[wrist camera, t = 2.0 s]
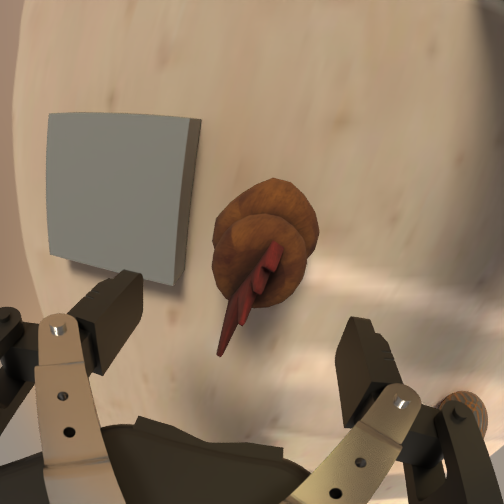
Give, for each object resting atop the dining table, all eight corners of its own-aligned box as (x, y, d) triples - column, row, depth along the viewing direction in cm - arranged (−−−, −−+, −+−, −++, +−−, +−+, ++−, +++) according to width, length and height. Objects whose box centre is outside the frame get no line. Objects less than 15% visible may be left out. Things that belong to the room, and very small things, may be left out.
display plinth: (201, 119, 23) (189, 118, 20) (184, 270, 28) (173, 285, 25) (69, 112, 23) (48, 113, 21) (67, 243, 28) (49, 254, 26)
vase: (484, 385, 30) (508, 433, 22) (454, 419, 33) (471, 467, 25) (451, 380, 30) (475, 434, 22) (420, 416, 33) (435, 469, 24)
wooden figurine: (256, 263, 27) (222, 400, 13) (215, 207, 25) (131, 305, 12) (326, 220, 25) (364, 337, 11) (285, 159, 23) (279, 207, 10)
